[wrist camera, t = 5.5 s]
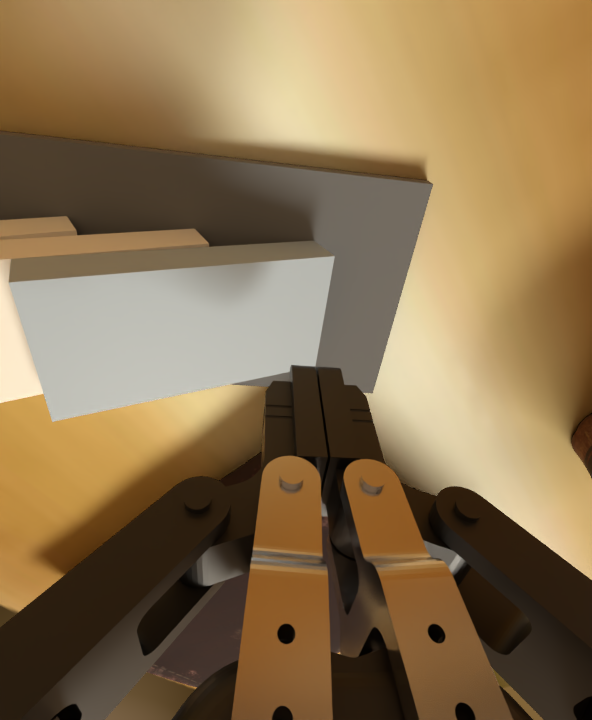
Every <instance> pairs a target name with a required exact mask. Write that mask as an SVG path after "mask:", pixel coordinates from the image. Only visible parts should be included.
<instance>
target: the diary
mask: <svg viewBox="0 0 592 720" xmlns="http://www.w3.org/2000/svg"><path fill="white" fill-rule="evenodd" d="M261 464H262V452H260V453H259V454H258V455H256V456H255V457H253V458H252V459H250V460H249V461H248V462H246V463H245V464H243V465H242V466H240V467H239V468H238V469H236V470H234V471H233V472H231V473H230V474H228V475H227V476H225V477H224V478H222V479H221V480H219V481H220V482H221V483H222V484H223V485H225V487H226V486H230V485H234V484H238V483H241V482H244V481H246V480H248V479H250V478H252V477H253V476H254V475H255V474H256V473H257V472H258V471H259V470H260V469H261ZM413 489H415V488H413ZM328 530H329V526H328V518H327V516H322V555H323V561H325V562H326V564H327V570H328V590H329V621H330V651H331V652H334V653H339V652H340V618H339V612H338V607H337V601H336V596H335V591H334V585H333V580H332V574H331V569H330V564H329V558H328V553H327V548H326V538H327V534H328ZM249 573H250V572H248V573H245V574H242V575H239V576H236V577H233V578H230V579H227V580H225V582H224V584H223V585H222V586H221V587H220V589H219V590H218V591H217V592H216V593H215V594H214V595H213V597H212V598H211V599H210V600H209V601H208V602H207V603H206V605H205V606H204V607H203V608H202V609H201V610H200V611H199V613H198V614H197V615H196V616H195V617H194V618H193V619H192V621H191V622H190V623H189V624H188V625H187V626H186V627H185V629H184V630H183V631H182V632H181V633H180V634H179V635H178V637H177V638H176V639H175V640H174V641H173V642H172V643H171V645H170V646H169V647H168V648H167V649H166V650H165V651H164V653H163V654H162V655H161V656H160V657H159V658H158V659H157V661H156V662H155V663H154V664H153V665H152V666H151V667H150V669H149V670H148V671H147V672H148V673H151V674H154V675H157V676H161V677H164V678H167V679H170V680H173V681H177V682H180V683H183V684H186V685H189V686H194V687H198V686H199V685H200V684H201V683H203V682H204V681H205V680H206V679H207V678H208V677H210V676H211V675H212V674H214V673H215V672H217V671H218V670H220V669H221V668H223V667H224V666H226V665H228V664H230V663H232V662H234V661H237V660H239V654H240V645H241V637H242V629H243V621H244V613H245V605H246V597H247V589H248V581H249Z"/></svg>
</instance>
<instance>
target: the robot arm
mask: <svg viewBox="0 0 592 720" xmlns="http://www.w3.org/2000/svg"><path fill="white" fill-rule="evenodd" d="M322 516H327V518H328V526H329V530H328V534H327V538H326V548H327V553H328V558H329V564H330V569H331V574H332V580H333V585H334V591H335V596H336V601H337V607H338V612H339V618H340V653H341V654H337V653H334V652H331V651H330V621H329V590H328V570H327V564H326V562H325V561H323V555H322ZM248 572H250V573H249V581H248V589H247V597H246V605H245V613H244V621H243V629H242V637H241V645H240V654H239V660H237V661H234V662H232V663H230V664H228V665H226V666H224V667H223V668H221V669H220V670H218V671H217V672H215V673H214V674H212V675H211V676H210V677H208V678H207V679H206V680H205V681H204V682H203V683H201V684H200V685H199V686H198V687H197V688H196V690H195V691H194V692H193V693H192V694H191V695H190V696H189V697H188V698H187V700H186V701H185V703H184V704H183V705H182V706H181V708H180V709H179V710H178V712H177V713H176V715H175V716H174V717H173V719H172V720H533V719H532V718H531V717H530V716H529V715H528V714H527V713H526V712H525V711H524V709H523V708H522V707H521V706H520V705H519V704H518V703H517V702H516V701H515V700H514V699H513V698H512V697H511V696H510V695H509V694H508V693H507V692H506V691H505V690H504V689H503V688H502V687H501V686H499V684H498V682H497V680H496V677H495V675H494V672H493V670H492V668H493V669H494V670H495V671H496V672H497V673H498V674H499V675H500V676H501V677H502V678H503V679H504V680H505V681H506V682H507V683H508V684H509V685H510V686H511V687H512V688H513V689H514V690H515V691H516V692H517V693H518V694H519V695H520V696H521V697H522V698H523V699H524V700H525V701H526V702H527V703H528V704H529V705H530V706H531V707H532V708H533V709H534V710H535V711H536V712H537V713H538V714H539V715H540V716H541V717H542V718H543V719H544V720H592V580H590V579H589V578H588V577H587V576H585V575H584V574H583V573H581V572H580V571H579V570H577V569H576V568H575V567H573V566H572V565H571V564H569V563H568V562H567V561H565V560H564V559H563V558H562V557H560V556H559V555H558V554H556V553H555V552H554V551H552V550H551V549H550V548H548V547H547V546H546V545H544V544H543V543H542V542H541V541H539V540H538V539H537V538H535V537H534V536H533V535H531V534H530V533H529V532H527V531H526V530H525V529H523V528H522V527H521V526H519V525H518V524H517V523H516V522H514V521H513V520H512V519H510V518H509V517H508V516H506V515H505V514H504V513H502V512H501V511H500V510H498V509H497V508H496V507H494V506H493V505H492V504H491V503H489V502H488V501H487V500H485V499H484V498H483V497H481V496H480V495H478V494H477V493H475V492H473V491H471V490H469V489H466V488H463V487H447V488H445V489H443V490H441V491H440V492H439V494H438V495H437V496H435V495H431V494H428V493H425V492H422V491H419V490H416V489H413V488H410V487H408V486H406V485H404V484H403V483H401V482H400V480H399V478H398V476H397V475H396V474H395V472H394V471H393V470H392V469H391V468H389V467H388V466H387V465H385V462H384V459H383V455H382V451H381V448H380V444H379V441H378V437H377V434H376V430H375V426H374V423H373V419H372V416H371V412H370V408H369V405H368V401H367V398H366V396H365V395H364V394H363V393H362V391H361V390H360V389H359V388H358V387H357V385H344V380H343V376H342V371H341V369H340V368H333V367H317V366H316V368H315V366H300V365H291V367H290V373H289V381H273V382H272V383H271V385H270V386H269V388H268V389H267V391H266V396H265V407H264V418H263V433H262V464H261V469H260V470H259V471H258V472H257V473H256V474H255V475H254V476H253V477H252V478H250V479H248V480H246V481H244V482H241V483H238V484H234V485H230V486H226V487H225V485H223V484H222V483H221V482H220V481H218V480H216V479H213V478H210V477H203V476H200V477H192V478H189V479H186V480H184V481H182V482H180V483H179V484H177V485H176V486H175V487H173V488H172V489H171V490H170V491H168V492H167V493H166V494H165V495H164V496H162V497H161V498H160V499H159V500H157V501H156V502H155V503H154V504H152V505H151V506H150V507H149V508H147V509H146V510H145V511H144V512H142V513H141V514H140V515H139V516H138V517H136V518H135V519H134V520H133V521H131V522H130V523H129V524H128V525H126V526H125V527H124V528H123V529H121V530H120V531H119V532H118V533H116V534H115V535H114V536H113V537H112V538H110V539H109V540H108V541H107V542H105V543H104V544H103V545H102V546H100V547H99V548H98V549H97V550H95V551H94V552H93V553H92V554H90V555H89V556H88V557H87V558H86V559H84V560H83V561H82V562H81V563H79V564H78V565H77V566H76V567H74V568H73V569H72V570H71V571H69V572H68V573H67V574H66V575H64V576H63V577H62V578H61V579H60V580H58V581H57V582H56V583H55V584H53V585H52V586H51V587H50V588H48V589H47V590H46V591H45V592H43V593H42V594H41V595H40V596H38V597H37V598H36V599H35V600H34V601H32V602H31V603H30V604H29V605H27V606H26V607H25V608H24V609H22V610H21V611H20V612H19V613H17V614H16V615H15V616H14V617H12V618H11V619H10V620H9V621H8V622H6V623H5V624H4V625H3V626H2V627H0V720H105V719H106V718H107V717H108V715H109V714H110V713H111V712H112V711H113V710H114V708H115V707H116V706H117V705H118V704H119V703H120V702H121V700H122V699H123V698H124V697H125V696H126V695H127V694H128V692H129V691H130V690H131V689H132V688H133V687H134V686H135V684H136V683H137V682H138V681H139V680H140V679H141V678H142V676H143V675H144V674H145V673H146V672H147V671H148V670H149V669H150V667H151V666H152V665H153V664H154V663H155V662H156V661H157V659H158V658H159V657H160V656H161V655H162V654H163V653H164V651H165V650H166V649H167V648H168V647H169V646H170V645H171V643H172V642H173V641H174V640H175V639H176V638H177V637H178V635H179V634H180V633H181V632H182V631H183V630H184V629H185V627H186V626H187V625H188V624H189V623H190V622H191V621H192V619H193V618H194V617H195V616H196V615H197V614H198V613H199V611H200V610H201V609H202V608H203V607H204V606H205V605H206V603H207V602H208V601H209V600H210V599H211V598H212V597H213V595H214V594H215V593H216V592H217V591H218V590H219V589H220V587H221V586H222V585H223V584H224V582H225V580H227V579H230V578H233V577H236V576H239V575H242V574H245V573H248ZM491 667H492V668H491Z"/></svg>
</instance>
